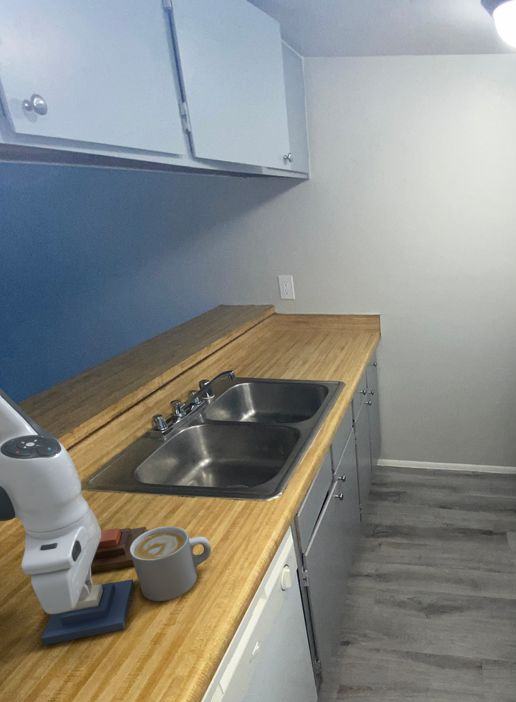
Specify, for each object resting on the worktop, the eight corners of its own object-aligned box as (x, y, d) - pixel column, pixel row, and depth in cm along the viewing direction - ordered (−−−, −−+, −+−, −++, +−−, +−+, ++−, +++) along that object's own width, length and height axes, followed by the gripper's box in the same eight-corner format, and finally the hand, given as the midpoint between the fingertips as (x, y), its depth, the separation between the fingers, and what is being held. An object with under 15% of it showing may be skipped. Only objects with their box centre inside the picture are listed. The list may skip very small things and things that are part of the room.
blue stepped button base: (44, 645, 79) (37, 630, 78) (63, 598, 89) (58, 584, 87) (124, 629, 83) (119, 615, 81) (134, 585, 92) (130, 571, 91)
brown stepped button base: (72, 576, 94) (67, 562, 92) (86, 541, 103) (82, 529, 101) (139, 565, 97) (135, 551, 96) (147, 532, 106) (144, 520, 105)
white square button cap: (72, 611, 82) (69, 604, 81) (78, 595, 86) (75, 587, 85) (98, 606, 83) (95, 599, 83) (103, 590, 87) (101, 583, 86)
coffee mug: (140, 606, 88) (127, 565, 83) (143, 571, 96) (132, 532, 91) (216, 588, 92) (208, 548, 88) (213, 556, 100) (206, 518, 96)
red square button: (95, 549, 96) (93, 542, 96) (100, 537, 100) (97, 530, 99) (117, 546, 98) (115, 539, 97) (121, 534, 101) (119, 527, 100)
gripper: (59, 497, 85) (81, 557, 91) (16, 575, 68) (46, 641, 74) (99, 492, 87) (117, 551, 93) (66, 566, 70) (92, 632, 76)
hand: (86, 592), depth 83 cm, fingers closed
